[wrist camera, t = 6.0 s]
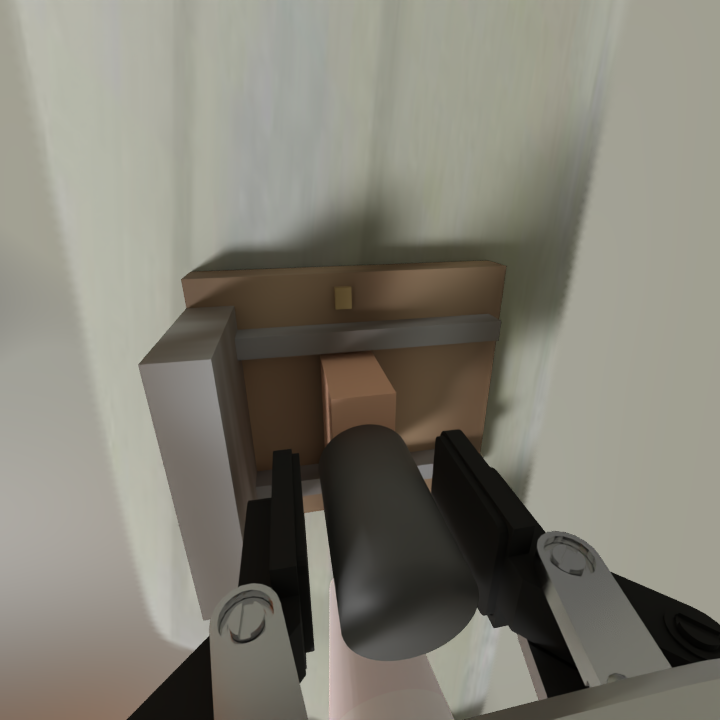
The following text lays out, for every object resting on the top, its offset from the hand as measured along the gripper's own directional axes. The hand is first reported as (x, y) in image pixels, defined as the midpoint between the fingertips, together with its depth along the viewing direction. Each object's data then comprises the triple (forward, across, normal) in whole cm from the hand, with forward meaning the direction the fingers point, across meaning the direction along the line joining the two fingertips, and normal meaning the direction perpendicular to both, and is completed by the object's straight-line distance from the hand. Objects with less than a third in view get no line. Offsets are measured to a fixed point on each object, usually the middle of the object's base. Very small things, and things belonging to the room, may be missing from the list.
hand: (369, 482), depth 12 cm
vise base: (+6, 0, 0) cm, 6 cm away
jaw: (+5, 0, 0) cm, 5 cm away
